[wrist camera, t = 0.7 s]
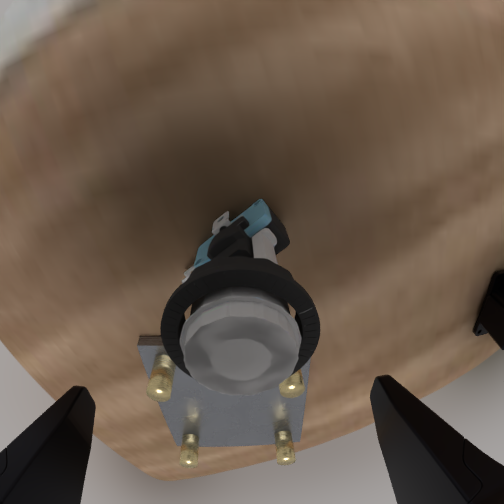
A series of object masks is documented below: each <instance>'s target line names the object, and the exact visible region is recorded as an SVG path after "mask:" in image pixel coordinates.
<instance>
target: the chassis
mask: <svg viewBox="0 0 504 504" xmlns="http://www.w3.org/2000/svg"><path fill="white" fill-rule="evenodd" d="M137 347H138V350H139V353H140V356H141V358H142V361H143V364H144V367H145V370H146V372H147V375H148V378H149V383H148V387H147V391H146V393H147V395H148V397H149V398H151V399H152V400H155V401H158V403H159V406H160V408H161V410H162V413H163V415H164V418H165V420H166V422H167V425H168V427H169V429H170V431H171V434H172V436H173V438H174V440H175V442H176V445H177V446H181V454H180V465H181V466H183V467H187V468H195V467H197V465H198V450H199V446H200V447H223V446H252V445H268V444H275V446H276V455H277V463H278V464H280V465H289V464H291V463H294V462H295V453H294V446H293V442H300V438H301V431H302V424H303V416H304V409H305V401H306V393H307V385H308V376H309V367H310V359H309V360H308V361H307V363H306V364H305V365H304V366H303V367H302V368H301V369H300V370H298V371H297V372H296V373H294V374H293V375H291V376H290V377H288V378H287V379H286V380H284V381H283V382H282V383H281V384H279V385H278V386H277V387H275V388H273V389H270V390H267V391H264V392H261V393H258V394H255V395H227V394H222V393H219V392H217V391H213V390H210V389H208V388H206V387H205V386H203V385H201V384H199V383H198V381H197V380H195V379H194V378H192V377H190V376H189V375H187V374H186V373H184V372H183V371H182V370H181V369H179V368H178V367H177V366H176V365H175V364H174V362H173V361H172V360H171V359H170V357H169V356H168V354H167V352H166V350H165V348H164V346H163V342H162V338H161V336H140V338H139V341H138V344H137Z"/></svg>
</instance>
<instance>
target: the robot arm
mask: <svg viewBox="0 0 504 504" xmlns="http://www.w3.org/2000/svg"><path fill="white" fill-rule="evenodd" d="M473 333H474V334H475V335H476V336H480V335H483V334H487V333H489V334H490V336H491V337H492V338H493V339H494V341H495V342H496V343H497V344H498V346H499V347H500V348H501V349H502V350H504V271H498V272H496V273H495V274H494V275H493V277H492V281H491V284H490V287H489V290H488V293H487V296H486V299H485V301H484V304H483V307H482V310H481V312H480V315H479V318H478V320H477V323H476V325H475V328H474V331H473ZM370 400H371V405H372V410H373V415H374V420H375V426H376V431H377V436H378V440H379V444H380V447H381V450H382V454H383V457H384V460H385V463H386V466H387V469H388V473H389V477H390V480H391V483H392V487H393V490H394V493H395V497H396V501H397V504H504V466H503V465H502V464H500V463H498V462H497V461H495V460H494V459H492V458H490V457H489V456H488V455H486V454H485V453H483V452H482V451H481V450H479V449H478V448H477V447H476V446H474V445H473V444H472V443H471V442H469V441H468V440H467V439H464V437H463V436H462V435H461V434H460V433H458V432H457V431H456V430H455V429H454V428H452V427H451V426H450V425H448V423H446V422H445V421H444V420H443V419H442V418H440V417H439V416H438V415H437V414H436V413H434V412H433V411H432V410H431V409H430V408H428V407H427V406H426V405H425V404H424V403H422V402H421V401H420V400H419V399H418V398H416V397H415V396H414V395H413V394H412V393H410V392H409V391H408V390H407V389H406V388H404V387H403V386H402V385H401V384H400V383H398V382H397V381H396V380H395V379H394V378H392V377H391V376H390V375H382V376H377V377H376V378H375V380H374V383H373V386H372V390H371V393H370ZM95 409H96V407H95V402H94V400H93V398H92V397H91V395H90V393H89V392H88V390H87V388H86V387H84V386H73V387H72V388H71V389H69V390H68V391H67V392H66V393H65V394H64V395H63V396H62V397H61V398H59V399H58V400H57V401H56V402H55V403H54V404H53V405H52V406H51V407H50V408H48V409H47V410H46V411H45V412H44V413H43V414H42V415H41V416H40V417H39V418H37V419H36V420H35V421H34V422H33V423H32V424H31V425H30V426H29V427H28V428H26V429H25V430H24V431H23V432H22V433H21V434H20V435H19V436H18V437H17V438H16V439H14V440H13V441H12V442H11V443H10V444H9V445H8V446H7V448H5V449H4V450H2V451H1V452H0V504H80V502H81V497H82V491H83V485H84V480H85V475H86V469H87V464H88V459H89V455H90V450H91V443H92V434H93V425H94V417H95Z"/></svg>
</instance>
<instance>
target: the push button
mask: <svg viewBox="0 0 504 504" xmlns="http://www.w3.org/2000/svg"><path fill="white" fill-rule="evenodd" d="M222 218H223V219H222ZM228 218H229V211H227V212H225V213H224V214H223V215H221V216H220V217H219V218H218V219H216V220H215V221H214V223H213V227H212V233H213V234H214V235H213V236H212V237H210V238H209V239H208V240H207V241H205V242H204V243H203V244H202V245H201V246H200V247H199V248H198V252H197V256H196V260H195V262H194V265H193V266H192V267H191V268H189V269H188V270H187V271H185V272H184V275H185V276H186V278H184V279H183V280H182V283H183V284H181V285H180V286H179V287H178V288H177V289H176V290H175V291H174V293H173V294H172V295H171V297H170V299H169V300H168V302H167V304H166V307H165V309H164V313H163V316H162V320H161V338H162V342H163V346H164V348H165V350H166V352H167V354H168V356H169V357H170V359H171V360H172V361H173V362H174V364H175V365H176V366H177V367H178V368H179V369H181V370H182V371H183V372H184V373H186V374H187V375H189V376H190V377H192V378H194V379H195V380H197V381H198V383H199V384H201V385H203V386H205V387H206V388H208V389H210V390H213V391H217V392H219V393H222V394H227V395H255V394H258V393H261V392H264V391H267V390H270V389H273V388H275V387H277V386H278V385H279V384H281V383H282V382H283V381H284V380H286V379H287V378H288V377H290V376H291V375H293V374H294V373H296V372H297V371H298V370H300V369H301V368H302V367H303V366H304V365H305V364H306V363H307V361H308V360H309V359H310V358H311V356H312V355H313V353H314V351H315V349H316V347H317V344H318V341H319V336H320V321H319V317H318V313H317V310H316V307H315V305H314V303H313V301H312V299H311V297H310V296H309V294H308V293H307V292H306V290H305V289H304V288H303V287H302V286H301V285H300V284H299V283H297V282H296V281H295V280H294V279H293V277H292V275H291V273H290V272H289V271H288V270H286V269H284V268H283V267H281V266H279V265H278V263H277V259H276V254H278V253H279V252H281V251H282V250H283V249H285V248H286V247H287V246H288V245H289V244H290V240H289V238H288V235H287V232H286V229H285V227H284V225H283V224H282V223H281V222H280V220H279V219H278V218H277V217H276V215H275V214H274V213H273V212H272V211H271V209H270V208H269V207H268V206H267V204H266V203H265V202H264V201H263V200H262V199H259V200H257V201H256V202H255V203H253V204H252V206H250V207H249V208H248V209H247V210H245V211H244V212H243V213H241V214H240V215H239V216H237V217H236V218H235V219H234V220H232V221H231V222H230V221H229V219H228ZM221 219H222V220H221ZM220 220H221V221H220ZM191 271H192V273H191V274H190V272H191ZM287 302H288V303H289V304H290V305H291V306H292V307H293V308H294V309H295V311H296V315H295V319H294V318H293V317H292V316H291V315H290V311H289V307H288V303H287ZM191 304H192V308H191V314H190V317H189V318H188V319H187V320H185V316H184V312H185V311H186V310H187V308H188V307H189V306H190V305H191Z"/></svg>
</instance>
